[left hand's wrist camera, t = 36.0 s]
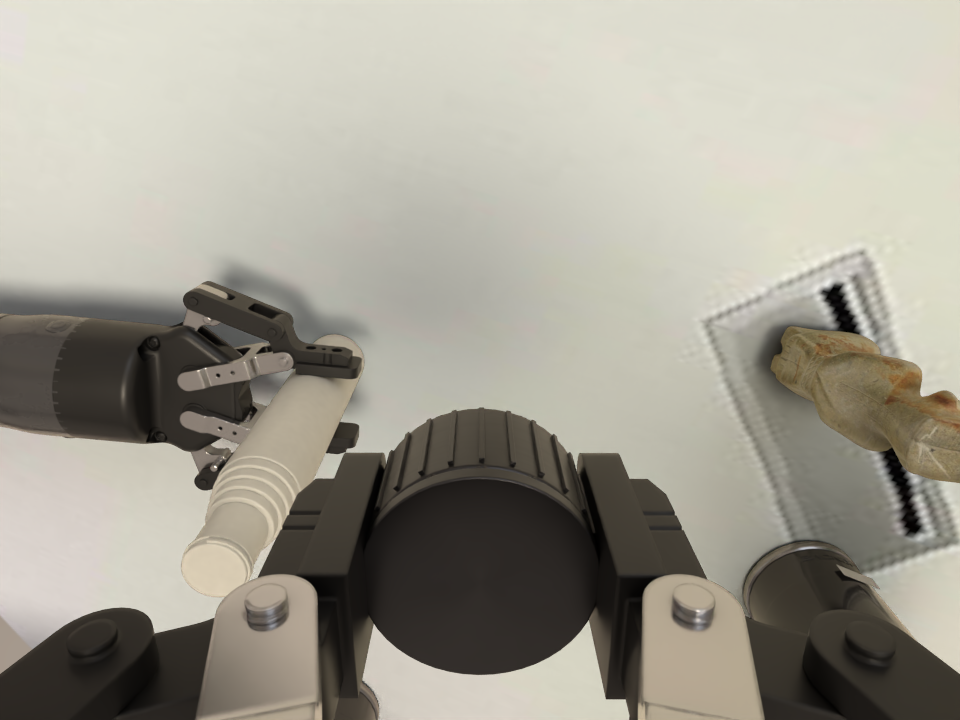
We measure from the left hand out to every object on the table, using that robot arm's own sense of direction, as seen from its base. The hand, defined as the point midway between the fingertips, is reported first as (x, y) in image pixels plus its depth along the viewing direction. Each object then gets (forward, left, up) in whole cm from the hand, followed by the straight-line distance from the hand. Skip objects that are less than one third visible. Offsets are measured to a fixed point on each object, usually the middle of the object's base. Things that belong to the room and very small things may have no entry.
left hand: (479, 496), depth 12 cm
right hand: (-11, +7, -27) cm, 30 cm away
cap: (0, 0, +2) cm, 2 cm away
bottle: (-11, +9, -34) cm, 37 cm away
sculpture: (-6, -25, -34) cm, 43 cm away
